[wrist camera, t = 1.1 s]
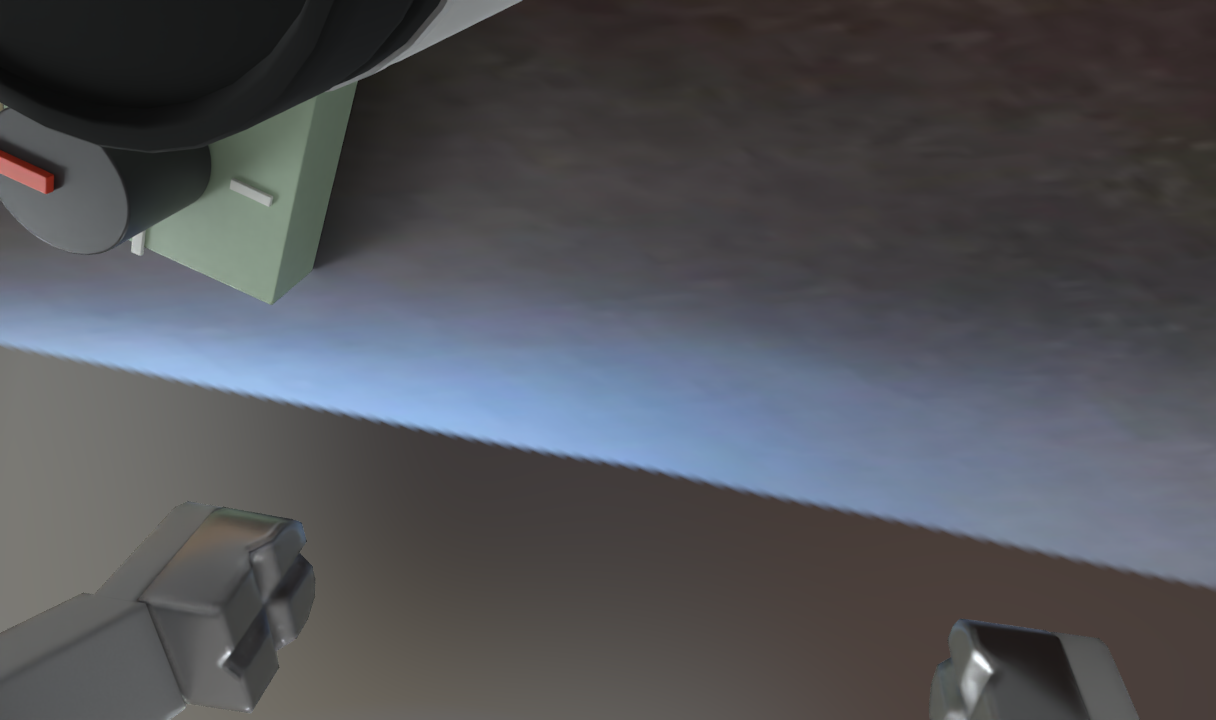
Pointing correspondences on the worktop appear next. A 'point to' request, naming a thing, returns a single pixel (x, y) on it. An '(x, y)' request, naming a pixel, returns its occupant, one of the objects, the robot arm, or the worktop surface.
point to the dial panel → (261, 201)
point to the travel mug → (201, 60)
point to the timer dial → (91, 185)
